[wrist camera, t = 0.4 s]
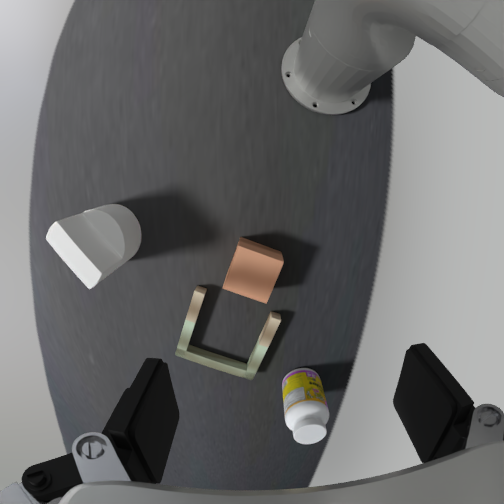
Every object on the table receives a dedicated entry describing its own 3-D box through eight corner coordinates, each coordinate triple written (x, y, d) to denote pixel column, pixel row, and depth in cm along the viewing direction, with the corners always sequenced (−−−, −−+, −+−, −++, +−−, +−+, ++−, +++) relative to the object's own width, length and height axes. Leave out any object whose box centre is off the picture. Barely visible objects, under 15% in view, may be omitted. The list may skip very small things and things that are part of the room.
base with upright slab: (153, 234, 42) (117, 257, 30) (118, 273, 43) (79, 305, 32) (113, 191, 40) (67, 200, 29) (81, 233, 42) (35, 253, 30)
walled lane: (197, 285, 44) (194, 290, 42) (280, 314, 44) (281, 320, 43) (177, 348, 47) (175, 354, 45) (252, 372, 48) (252, 380, 46)
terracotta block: (240, 236, 42) (238, 245, 37) (281, 251, 42) (284, 262, 37) (226, 275, 43) (222, 288, 38) (265, 288, 44) (266, 303, 39)
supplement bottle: (326, 383, 48) (340, 436, 36) (293, 399, 49) (300, 453, 37) (309, 359, 47) (322, 413, 34) (274, 376, 48) (278, 432, 35)
